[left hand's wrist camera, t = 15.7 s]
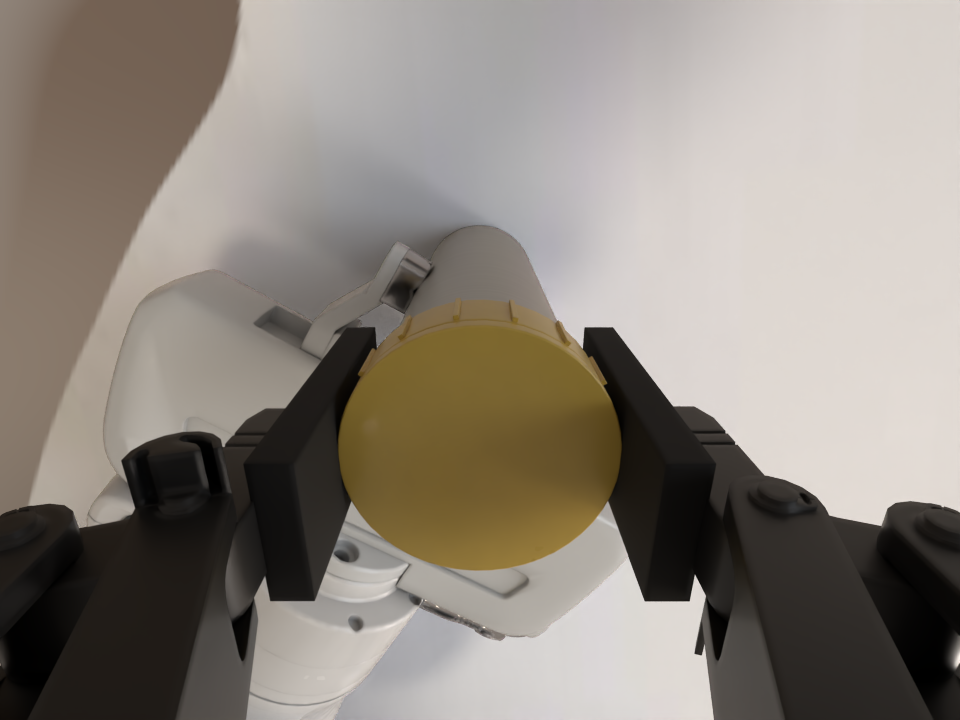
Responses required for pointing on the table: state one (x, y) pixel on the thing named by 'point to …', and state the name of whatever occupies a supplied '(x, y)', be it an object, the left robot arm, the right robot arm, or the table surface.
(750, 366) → the table surface
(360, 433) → the lid
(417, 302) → the jar
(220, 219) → the table surface
